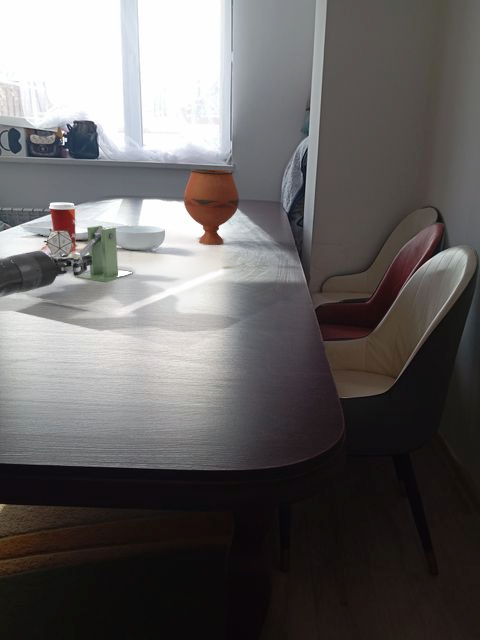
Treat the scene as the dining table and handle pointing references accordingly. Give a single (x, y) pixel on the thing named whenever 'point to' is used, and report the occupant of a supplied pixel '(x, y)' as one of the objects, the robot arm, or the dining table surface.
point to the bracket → (103, 257)
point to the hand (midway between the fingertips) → (83, 258)
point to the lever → (88, 245)
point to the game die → (59, 242)
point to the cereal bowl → (139, 237)
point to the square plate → (80, 227)
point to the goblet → (211, 201)
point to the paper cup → (64, 218)
